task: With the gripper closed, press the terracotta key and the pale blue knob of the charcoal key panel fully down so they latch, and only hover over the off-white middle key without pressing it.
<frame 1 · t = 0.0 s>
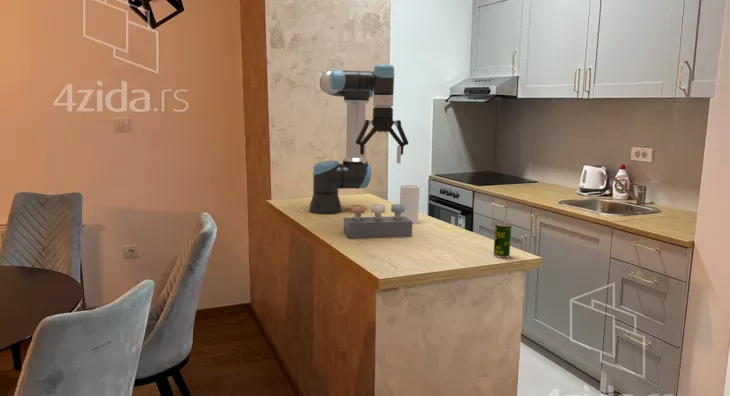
hand: (381, 163, 213), 28 cm above the countertop, fingers open, 13 cm apart
key panel: (377, 234, 218), on the countertop
white key: (377, 215, 217), point 8 cm above the countertop, slide at 0.0 cm
beer can: (501, 256, 192), on the countertop
cup: (408, 222, 243), on the countertop
terracotta key: (357, 215, 215), point 8 cm above the countertop, slide at 0.0 cm
pale blue knob: (397, 214, 219), point 8 cm above the countertop, slide at 0.0 cm
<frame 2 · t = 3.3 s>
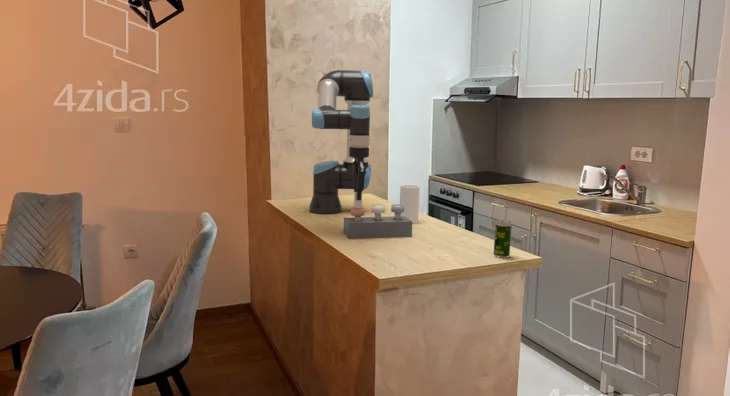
hand: (357, 208, 214), 11 cm above the countertop, fingers closed
terracotta key: (357, 218, 215), point 7 cm above the countertop, slide at 0.9 cm, touching gripper
everything else where it was.
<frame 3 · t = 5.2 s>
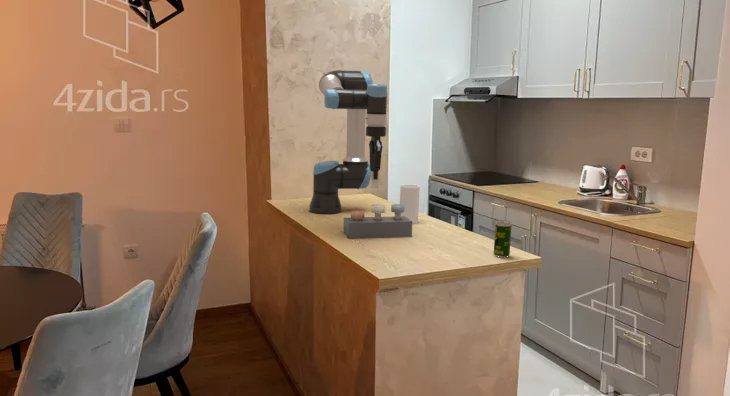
hand: (374, 187, 214), 19 cm above the countertop, fingers closed
terracotta key: (357, 220, 215), point 6 cm above the countertop, slide at 2.1 cm
everything else where it was.
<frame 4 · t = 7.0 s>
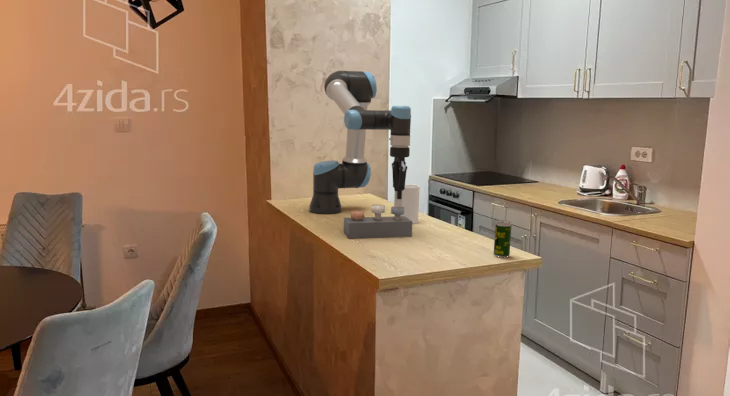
hand: (398, 206, 218), 11 cm above the countertop, fingers closed
pale blue knob: (397, 216, 219), point 7 cm above the countertop, slide at 0.8 cm, touching gripper
everything else where it was.
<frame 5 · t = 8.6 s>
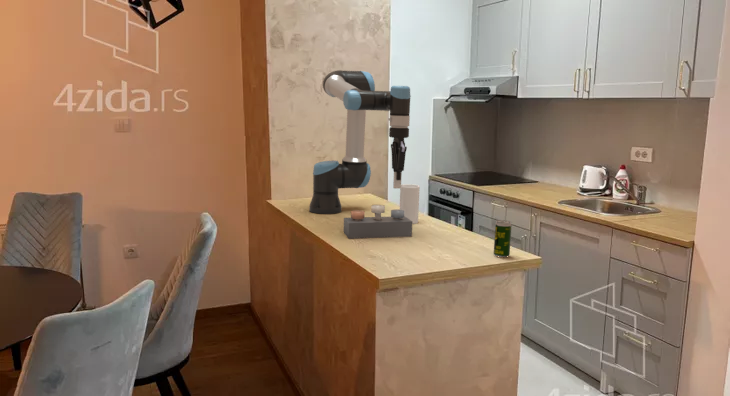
hand: (397, 188, 217), 18 cm above the countertop, fingers closed
pale blue knob: (397, 219, 219), point 6 cm above the countertop, slide at 2.1 cm
everything else where it was.
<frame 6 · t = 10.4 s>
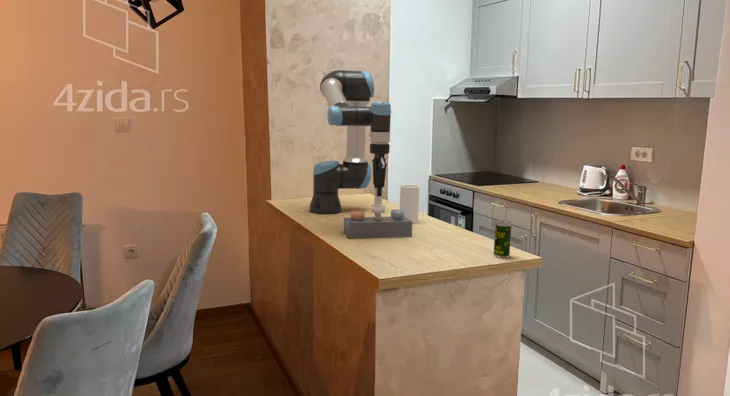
hand: (378, 204, 216), 12 cm above the countertop, fingers closed
nothing on the countertop moved.
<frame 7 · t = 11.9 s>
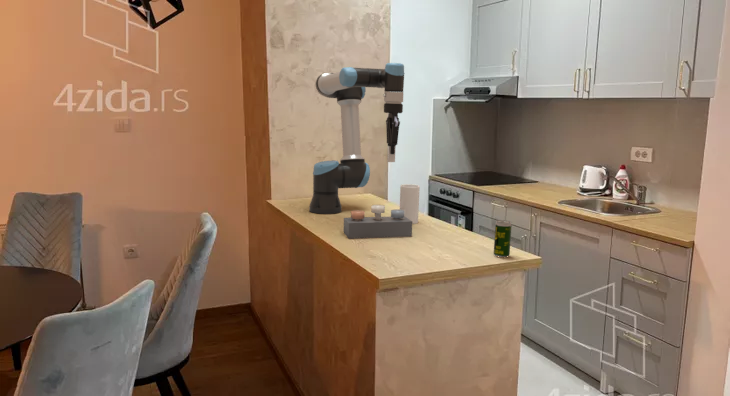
hand: (391, 161, 226), 27 cm above the countertop, fingers closed
nothing on the countertop moved.
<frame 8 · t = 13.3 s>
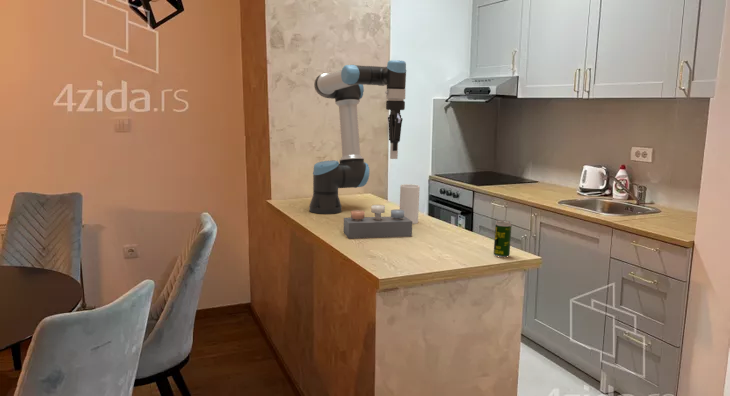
hand: (393, 158, 228), 28 cm above the countertop, fingers closed
nothing on the countertop moved.
at the end: terracotta key slide at 2.1 cm; pale blue knob slide at 2.1 cm; white key slide at 0.0 cm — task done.
